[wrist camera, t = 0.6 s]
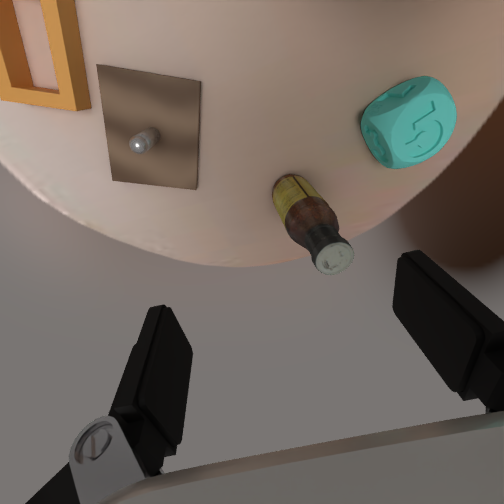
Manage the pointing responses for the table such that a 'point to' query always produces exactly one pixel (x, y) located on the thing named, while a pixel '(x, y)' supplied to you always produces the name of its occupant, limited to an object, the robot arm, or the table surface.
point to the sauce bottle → (312, 224)
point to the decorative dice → (409, 122)
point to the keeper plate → (155, 111)
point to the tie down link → (63, 54)
